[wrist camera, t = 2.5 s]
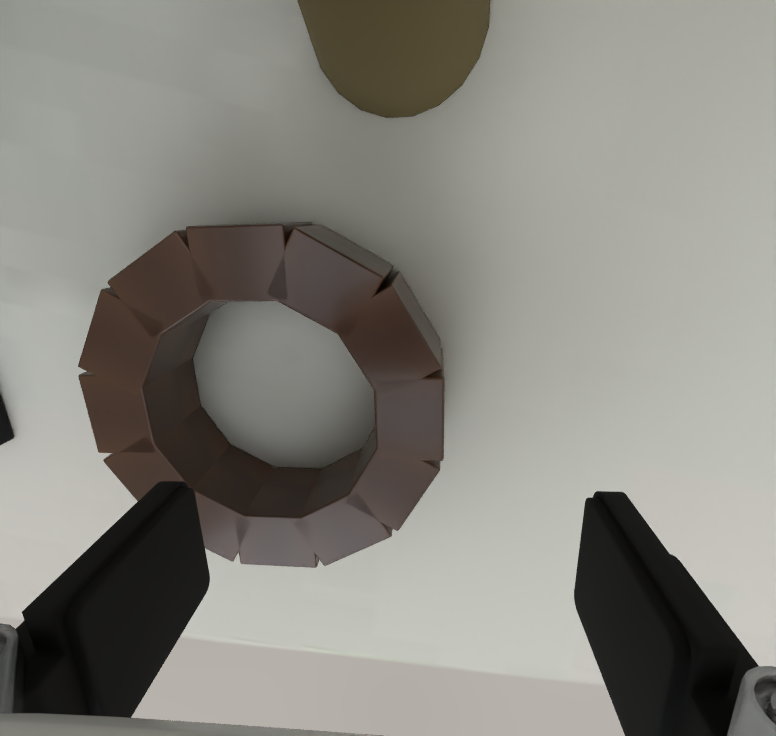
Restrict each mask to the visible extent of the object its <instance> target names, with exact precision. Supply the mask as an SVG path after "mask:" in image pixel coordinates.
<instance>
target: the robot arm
mask: <svg viewBox="0 0 776 736" xmlns="http://www.w3.org/2000/svg"><path fill="white" fill-rule="evenodd" d="M209 581H210V576H209V570H208V564H207V558H206V553H205V547H204V542H203V536H202V530H201V525H200V519H199V514H198V508H197V502H196V497H195V492H194V490H193V488H189V487H188V485H187V483H186V482H184V481H160V482H158V483H157V484H156V485H155V486H154V487H153V488H152V489H151V490H150V491H149V492H147V493H146V494H145V495H144V496H143V497H142V498H141V499H140V500H139V501H138V502H137V503H136V504H135V505H134V506H133V507H132V508H131V509H130V510H129V511H128V512H126V513H125V514H124V515H123V516H122V517H121V518H120V519H119V520H118V521H117V522H116V523H115V524H114V525H113V526H112V527H111V528H110V529H109V530H108V531H107V532H105V533H104V534H103V535H102V536H101V537H100V538H99V539H98V540H97V541H96V542H95V543H94V544H93V545H92V546H91V547H90V548H89V549H88V550H87V551H86V552H84V553H83V554H82V555H81V556H80V557H79V558H78V559H77V560H76V561H75V562H74V563H73V564H72V565H71V566H70V567H69V568H68V569H67V570H66V571H65V572H63V573H62V574H61V575H60V576H59V577H58V578H57V579H56V580H55V581H54V582H53V583H52V584H51V585H50V586H49V587H48V588H47V589H46V590H45V591H44V592H42V593H41V594H40V595H39V596H38V597H37V598H36V599H35V600H34V601H33V602H32V603H31V604H30V605H29V606H28V607H27V608H26V609H25V610H24V611H22V614H23V617H24V620H25V621H24V622H23V623H22V624H21V625H20V626H18V627H17V628H16V629H15V628H13V627H12V626H11V625H7V624H0V736H382V735H368V734H355V733H340V732H328V731H314V730H301V729H286V728H273V727H259V726H245V725H230V724H215V723H200V722H184V721H171V720H170V721H169V720H155V719H141V718H140V719H139V718H131V716H132V715H133V713H134V712H135V710H136V708H137V706H138V705H139V703H140V702H141V700H142V698H143V697H144V695H145V693H146V692H147V690H148V688H149V687H150V685H151V683H152V682H153V680H154V678H155V677H156V675H157V673H158V672H159V670H160V668H161V667H162V665H163V664H164V662H165V660H166V659H167V657H168V655H169V654H170V652H171V650H172V649H173V647H174V645H175V644H176V642H177V640H178V639H179V637H180V635H181V634H182V632H183V630H184V629H185V627H186V625H187V624H188V622H189V620H190V619H191V617H192V615H193V614H194V612H195V611H196V609H197V607H198V606H199V604H200V602H201V601H202V599H203V597H204V596H205V594H206V592H207V590H208V587H209ZM574 599H575V605H576V609H577V612H578V615H579V617H580V620H581V622H582V625H583V628H584V630H585V633H586V635H587V638H588V641H589V643H590V646H591V648H592V651H593V653H594V656H595V659H596V661H597V664H598V666H599V669H600V672H601V674H602V677H603V679H604V682H605V685H606V687H607V690H608V692H609V695H610V697H611V700H612V703H613V705H614V708H615V710H616V713H617V715H618V718H619V721H620V723H621V726H622V728H623V731H624V734H625V736H776V667H773V666H758V665H757V663H756V662H755V661H754V659H753V658H752V657H751V655H750V654H749V653H748V651H747V650H746V649H745V647H744V646H743V645H742V643H741V642H740V641H739V639H738V638H737V637H736V635H735V634H734V633H733V631H732V630H731V629H730V627H729V626H728V625H727V623H726V622H725V621H724V619H723V618H722V616H721V615H720V614H719V612H718V611H717V610H716V608H715V607H714V606H713V604H712V603H711V602H710V600H709V599H708V598H707V596H706V595H705V594H704V592H703V591H702V590H701V588H700V587H699V586H698V584H697V583H696V582H695V580H694V579H693V578H692V576H691V575H690V574H689V572H688V571H687V570H686V568H685V567H684V566H683V564H682V563H681V562H680V561H679V560H678V559H677V558H676V557H675V556H673V555H671V554H669V553H668V551H667V550H666V549H665V547H664V546H663V544H662V543H661V542H660V540H659V539H658V538H657V536H656V535H655V534H654V532H653V531H652V529H651V528H650V527H649V525H648V524H647V523H646V521H645V520H644V519H643V517H642V516H641V514H640V513H639V512H638V510H637V509H636V508H635V506H634V505H633V504H632V502H631V501H630V500H629V498H628V497H627V495H626V494H625V493H623V492H602V491H597V492H595V494H594V496H593V498H587V499H586V502H585V508H584V516H583V525H582V533H581V541H580V549H579V557H578V566H577V574H576V582H575V590H574Z"/></svg>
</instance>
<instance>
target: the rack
mask: <svg viewBox="0 0 776 736" xmlns="http://www.w3.org/2000/svg"><path fill="white" fill-rule="evenodd" d="M13 438H14V436H13V433H12V430H11V427H10V424H9V421H8V418H7V415H6V412H5V409H4V406H3V403H2V400H1V397H0V445H2V444H4V443H6V442H7V441H9V440H11V439H13Z"/></svg>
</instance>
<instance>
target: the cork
mask: <svg viewBox="0 0 776 736" xmlns="http://www.w3.org/2000/svg"><path fill="white" fill-rule="evenodd" d="M298 3H299V6H300V9H301V12H302V15H303V18H304V21H305V24H306V27H307V30H308V33H309V36H310V39H311V42H312V45H313V47H314V50H315V53H316V56H317V59H318V62H319V65H320V67H321V69H322V71H323V72H324V74H325V75H326V77H327V78H328V79H329V81H330V82H331V84H332V85H333V86H334V88H335V89H336V91H337V92H338V93H339V94H340V95H342V96H343V97H344V98H346V99H347V100H348V101H350V102H351V103H352V104H354V105H355V106H356V107H358V108H359V109H360V110H363V111H366V112H370V113H373V114H376V115H379V116H383V117H386V118H389V117H408V116H415V115H417V114H420V113H422V112H424V111H427V110H429V109H431V108H434V107H436V106H438V105H440V104H441V103H442V102H443V101H444V100H446V99H447V98H448V97H449V96H450V95H451V94H453V93H454V92H455V91H456V90H457V89H458V88H459V87H461V86H462V84H463V83H464V81H465V79H466V78H467V76H468V75H469V73H470V72H471V70H472V68H473V67H474V65H475V64H476V62H477V61H478V59H479V57H480V53H481V50H482V47H483V44H484V40H485V37H486V34H487V31H488V27H489V13H490V0H298Z"/></svg>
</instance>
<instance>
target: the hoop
mask: <svg viewBox="0 0 776 736" xmlns="http://www.w3.org/2000/svg"><path fill="white" fill-rule="evenodd" d="M392 268H393V265H392V264H391V263H389V262H387V261H385V260H383V259H382V258H380V257H378V256H376V255H375V254H373V253H371V252H369V251H367V250H366V249H364V248H362V247H360V246H359V245H357V244H355V243H353V242H352V241H350V240H348V239H346V238H344V237H343V236H341V235H339V234H337V233H336V232H334V231H332V230H330V229H329V228H327V227H325V226H323V225H312V222H290V223H256V224H226V225H206V226H188V227H186V230H178V231H174V232H173V233H171V234H170V235H169V236H167V237H166V238H165V239H163V240H162V241H161V242H159V243H158V244H157V245H155V246H154V247H153V248H151V249H150V250H149V251H147V252H146V253H145V254H143V255H142V256H141V257H139V258H138V259H137V260H135V261H134V262H133V263H131V264H130V265H129V266H127V267H126V268H125V269H123V270H122V271H120V272H119V273H118V274H116V275H115V276H114V277H112V278H111V279H110V280H109V281H108V284H109V285H110V288H105V289H102V290H101V292H100V295H99V298H98V302H97V305H96V308H95V312H94V315H93V318H92V322H91V325H90V328H89V332H88V335H87V338H86V341H85V345H84V348H83V351H82V355H81V358H80V361H79V365H78V367H80V368H82V369H84V370H86V371H87V372H84V373H82V374H80V375H79V380H80V384H81V388H82V391H83V395H84V399H85V403H86V407H87V410H88V414H89V418H90V422H91V426H92V429H93V433H94V437H95V441H96V444H97V448H98V452H100V453H112V454H110V455H109V456H108V457H106V458H105V459H104V460H103V461H104V462H105V464H106V465H107V466H108V467H109V468H110V469H111V471H112V472H113V473H114V474H115V475H116V476H117V478H118V479H119V480H120V481H121V482H122V483H123V485H124V486H125V487H126V488H127V489H128V490H129V492H130V493H131V494H132V495H133V496H134V497H135V499H136V500H137V501H139V500H140V499H141V498H142V497H143V496H144V495H145V494H146V493H147V492H149V491H150V490H151V489H152V488H153V487H154V486H155V485H156V484H157V483H158V482H160V481H184V482H186V483H187V485H188V487H189V488H193V490H194V492H195V497H196V502H197V508H198V514H199V519H200V525H201V530H202V536H203V542H204V547H205V548H206V549H208V550H210V551H212V552H214V553H216V554H218V555H220V556H222V557H224V558H226V559H228V560H230V561H234V559H235V557H236V556H237V554H238V552H239V556H240V562H241V564H254V565H274V566H293V567H313V568H316V567H317V565H318V562H319V559H320V561H321V562H322V563H323V565H325V566H326V565H328V564H330V563H333V562H335V561H337V560H339V559H342V558H344V557H346V556H348V555H351V554H353V553H355V552H357V551H360V550H362V549H364V548H366V547H369V546H371V545H373V544H375V543H378V542H380V541H382V540H384V539H387V538H389V537H391V536H392V529H395V530H397V531H398V530H399V529H400V528H401V526H402V525H403V523H404V522H405V520H406V519H407V517H408V516H409V514H410V513H411V512H412V510H413V509H414V507H415V506H416V504H417V503H418V501H419V500H420V498H421V497H422V496H423V494H424V493H425V491H426V490H427V488H428V487H429V485H430V484H431V482H432V481H433V480H434V478H435V477H436V475H437V474H438V472H439V471H440V461H442V460H443V458H444V381H445V379H444V363H443V350H442V348H440V338H439V336H438V335H437V333H436V331H435V330H434V328H433V326H432V325H431V323H430V321H429V320H428V318H427V316H426V314H425V313H424V311H423V309H422V308H421V306H420V304H419V303H418V301H417V299H416V298H415V296H414V294H413V293H412V291H411V289H410V287H409V286H408V284H407V282H406V281H405V279H404V277H403V276H402V274H401V272H398V273H396V274H395V275H393V276H391V277H390V278H388V279H387V277H388V275H389V273H390V272H391V270H392ZM228 301H278V302H280V303H282V304H284V305H286V306H288V307H289V308H291V309H293V310H295V311H297V312H299V313H300V314H302V315H304V316H306V317H308V318H310V319H311V320H313V321H315V322H317V323H319V324H321V325H322V326H324V327H326V328H328V329H330V330H331V331H333V332H335V333H337V334H338V335H339V337H340V338H341V340H342V341H343V343H344V344H345V346H346V347H347V349H348V351H349V352H350V354H351V355H352V357H353V358H354V360H355V361H356V363H357V364H358V366H359V367H360V369H361V370H362V372H363V374H364V375H365V377H366V378H367V380H368V381H369V383H370V384H371V386H372V387H373V389H374V403H375V428H374V429H373V431H372V433H371V434H370V436H369V438H368V440H367V441H366V443H365V445H364V446H363V448H362V449H360V450H358V451H356V452H354V453H352V454H350V455H348V456H346V457H344V458H342V459H340V460H338V461H336V462H334V463H332V464H330V465H328V466H327V467H325V468H323V469H312V468H275V467H272V466H271V465H269V464H267V463H265V462H263V461H261V460H259V459H257V458H255V457H253V456H251V455H249V454H247V453H245V452H243V451H241V450H240V449H238V448H236V447H234V446H232V445H230V444H229V442H228V441H227V440H226V438H225V437H224V436H223V434H222V433H221V432H220V431H219V429H218V428H217V427H216V425H215V424H214V423H213V421H212V420H211V419H210V418H209V416H208V415H207V414H206V412H205V411H204V410H203V408H202V407H201V406H200V401H199V395H198V389H197V384H196V378H195V372H194V367H193V361H192V357H193V355H194V352H195V350H196V347H197V345H198V342H199V340H200V337H201V335H202V332H203V330H204V327H205V325H206V322H207V320H208V317H209V315H210V313H212V312H213V311H215V310H216V309H218V308H219V307H221V306H222V305H224V304H225V303H227V302H228Z"/></svg>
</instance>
